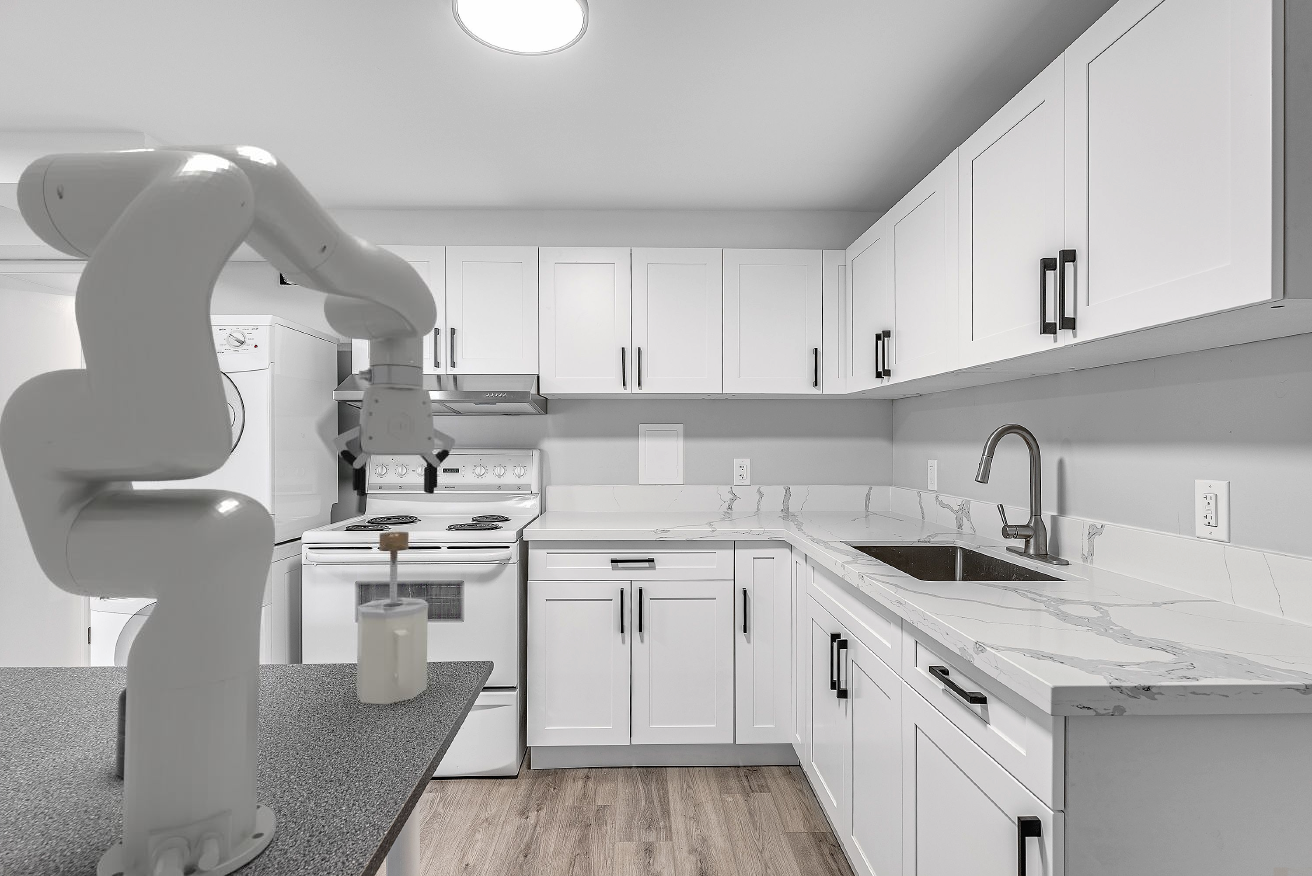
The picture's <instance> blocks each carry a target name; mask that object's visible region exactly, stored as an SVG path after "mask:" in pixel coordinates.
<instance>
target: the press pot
mask: <svg viewBox="0 0 1312 876" xmlns="http://www.w3.org/2000/svg"><path fill="white" fill-rule="evenodd" d="M428 610H429V602H427V601H426V600H424V599H423V598H411V597H397V607H390V598H387V599H386V598H385V599H379V600H371V601H369V602H366V603H363V604H361V605H358V606H357V608H356V613H357V645H356V646H357V647H356V650H357V651H356V652H357V655H356V658H357V659H356V661H357V663H356V696H357V698H358V699H359V701H360V704H361V703H363V704H372V705H373V704H375V705H391V704H395V703H399V701H400V702H403V701H404V700H405V701H408V699H410V700H413V699H415V698H417V697H418V696H419V694H420V693H421V694H423V693H424V692H425V691H424V690H426V689H428V617H429V616H428V613H429V612H428ZM423 691H424V692H423ZM426 691H427V690H426ZM422 692H423V693H422ZM421 694H420V695H421ZM417 695H418V696H417ZM414 697H415V698H414ZM412 698H413V699H412ZM405 701H404V702H405ZM394 702H395V703H394Z"/></svg>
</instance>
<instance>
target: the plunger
mask: <svg viewBox="0 0 1312 876" xmlns="http://www.w3.org/2000/svg"><path fill="white" fill-rule="evenodd" d="M409 537H410V536H409V532H408V531H387V532H386V531H385V532H381V533H379V542H378V543H379V549H378V550H379V551H380V552H390V553H389V557H390V559H389V564H390V565H389V599H390V607H397V598H398V552H400V551H406V550H409Z"/></svg>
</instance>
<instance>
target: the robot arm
mask: <svg viewBox="0 0 1312 876" xmlns="http://www.w3.org/2000/svg"><path fill="white" fill-rule="evenodd" d="M310 192H311V191H309V190H308V189H307V188H306V186H305V185H304V184H303V183H302V182H301V180H299V179H298V178H297V177H296V175H295V174H294V173H293V172H292V171H291V169H290V168H289V167H288V166H287V165H286V164H285V163H284V162H283V161H282V160H281V159H280V158H279V157H277V156H276V155H274V154H273V153H272V152H270V151H269V150H268V151H267V150H266V149H263V148H262V147H261V148H260V147H257V146H253V145H249V144H248V145H247V144H237V143H236V144H232V143H231V144H230V143H229V144H227V143H226V144H197V145H195V144H194V145H193V144H191V145H188V144H187V145H166V146H165V145H164V146H152V147H143V148H134V149H133V148H132V149H122V150H121V149H119V150H110V151H109V150H107V151H104V150H103V151H85V152H63V153H51V154H46V155H45V156H42V157H39V158H37V159H35V160H34V161H33V162H31V163H30V164H28V165H27V167H26V168H25V169H24V170H23V172H22V173H21V174H20V177H19V179H18V182H17V187H16V199H17V206H18V208H19V211H20V215H21V217H22V218H23V220H24V221H25V223H26V226H28V228H29V229H31V231H32V232H33V233H34V234H35V236H37V237H38V238H39V239H40V240H41V241H42V242H44V243H45V244H47V245H48V246H50V247H52V248H53V249H54V250H56V251H58V252H60V253H63V254H65V255H67V256H70V257H74V258H79V259H83V260H88V261H87V263H86V265H85V266H84V268H83V269H82V272H81V275H80V277H79V279H78V280H79V281H78V283H77V286H76V290H75V298H74V313H75V321H76V325H77V329H78V330H77V331H78V334H79V338H80V340H79V341H80V343H81V344H80V345H81V349H82V355H83V359H84V363H85V368H68V369H67V368H66V369H57V370H52V371H47V372H44V373H41V374H37V375H35V376H33V377H31V378H30V379H27V380H26V381H25V382H23V383H22V384H20V385H19V386H18V387H17V388H16V389H15V390H14V391H13V392H12V394H11V395H10V396H9V398H8V399H7V401H6V403H5V405H4V406H3V407H4V408H3V409H2V413H1V417H0V453H1V454H0V455H1V457H2V460H3V465H4V467H5V471H6V474H7V477H8V480H9V484H10V485H11V486H10V487H11V489H12V492H13V493H12V494H13V495H14V498H15V501H16V504H17V507H18V510H19V511H18V512H19V513H20V516H21V519H22V522H23V525H24V529H25V531H26V534H27V538H28V540H29V542H30V546H31V548H32V551H33V554H34V556H35V558H36V562H37V563H38V565H39V567H40V569H41V570H42V572H43V574H44V575H45V577H46V578H47V579H48V580H49V581H50V582H51V583H52V584H53V585H54V586H55V587H57V588H59V589H60V590H61V591H64V592H66V593H69V594H71V595H75V596H81V597H89V598H109V599H110V598H111V599H112V598H115V599H117V598H121V599H123V598H127V599H128V598H129V599H133V598H134V599H135V598H136V599H137V598H139V599H143V598H144V599H152V600H156V602H155V605H154V607H153V609H152V611H151V612H150V614H149V616H148V617H147V619H145V622H144V623H143V624H142V626H141V627H140V629H139V631H138V632H137V633H136V635H135V637H134V639H133V641H132V643H131V646H130V649H129V651H128V656H127V660H126V673H125V684H126V687H127V688H126V687H125V688H126V724H125V760H124V778H123V798H122V799H123V801H122V804H123V805H122V807H123V808H122V810H123V811H122V836H121V838H120V839H119V840H117V841H116V842H115V843H114V844H113V845H112V846H111V847H110V848H109V849H107V850H106V852H104V853H103V855H102V857H101V858H100V859H99V861H98V862H97V863H98V864H97V866H96V876H227V875H228V874H230V873H232V872H234V871H236V870H238V869H240V868H242V866H244V865H246V864H248V863H249V862H251V861H252V860H254V858H255V857H257V856H258V855H259V854H261V853H262V852H263V850H265V849H266V847H267V846H268V845H269V844H270V843H271V841H272V839H273V838H274V837H275V833H276V831H277V816H276V814H275V811H274V810H272V808H270V807H269V806H268V805H265V804H262V803H260V802H258V764H259V763H258V761H259V760H258V756H259V755H258V754H259V706H260V705H259V704H260V703H259V701H260V663H261V662H260V655H261V653H260V649H261V627H262V626H261V625H262V612H263V603H264V598H265V597H264V596H265V591H266V585H267V582H268V581H267V580H268V576H269V572H270V567H271V564H272V560H273V555H274V550H275V542H276V529H275V527H276V526H275V524H274V520H273V517H272V515H271V514H270V512H269V510H268V509H267V508H266V507H265V506H264V505H263V503H261V502H260V501H258V500H257V499H255V498H254V497H252V496H249V495H247V494H244V493H240V492H236V491H231V490H228V489H227V490H226V489H218V488H217V489H216V488H161V489H155V488H153V489H152V488H150V489H145V488H144V489H141V488H139V489H134V486H133V482H138V483H140V482H168V481H173V482H174V481H186V480H192V479H193V480H194V479H197V478H202V477H206V476H208V475H211V474H212V473H215V472H216V471H217V470H218V471H219V470H220V469H221V468H222V467H223V466H224V464H225V463H226V462H227V461H228V460H229V458H230V456H231V454H232V449H233V438H234V437H233V425H232V421H231V415H230V410H229V405H228V404H229V403H228V400H227V395H226V390H225V386H224V385H225V384H224V381H223V377H222V372H221V367H220V362H219V357H218V353H217V349H216V344H215V339H214V332H213V325H212V319H211V318H212V317H211V304H212V303H211V302H212V297H213V294H214V288H215V286H216V283H217V281H218V279H219V277H220V275H221V273H222V271H223V269H224V268H225V266H227V265H226V264H227V263H228V262H229V261H230V259H231V257H232V256H233V255H234V254H235V253H236V251H238V249H239V248H240V247H241V245H242V244H243V243H245V244H246V245H247V246H249V247H250V248H251V249H252V250H253V251H254V252H256V253H257V254H258V255H259V256H260V257H262V258H263V259H264V260H266V262H268V263H269V265H271V266H272V267H273V268H274V269H275V270H276V271H278V272H279V273H280V274H281V275H282V276H283V277H284V278H286V279H287V280H288V281H290V282H291V283H292V284H294V285H297V286H300V287H303V288H305V289H309V290H312V291H316V292H320V293H323V294H327V295H326V297H325V299H324V303H323V312H324V313H323V314H324V317H325V319H326V322H327V324H328V325H329V326H330V328H331V329H332V330H333V331H335V332H336V333H337V334H338V335H340V336H343V337H344V338H347V339H353V340H362V341H363V340H365V341H369V366H368V369H364V370H358V380H362V381H365V382H367V383H368V384H367V385H368V386H367V387H365V388H364V391H363V395H362V399H361V405H360V413H359V423H358V424H359V425H358V426H356V427H355V428H352V429H350V430H348V431H345V432H343V433H341V434H339V435H337V436H335V437H333V438H332V439H331V443H332V445H333V446H334V448H335V450H336V451H337V453H338V455H339V457H340V458H342V460H343V461H345V463H347V465H349V466H350V468H352V490H353V491H356V496H358V497H365V496H366V494H367V469H365V468H364V466H365V465H364V464H365V463H367V461H368V460H369V459H370V458H371V457H372V456H419V457H420V458H421V459H422V460H423V461H424V462H425V464H426V466H425V467H424V468H423V469H424V470H423V492H424V493H426V494H432V495H433V494H434V493H435V489H437V488H438V467H440V465H441V464H442V463H444V461H445V460H446V459H447V458H448V457H449V455H450V452H451V451H452V450H453V447H454V446H455V443H456V439H455V438H453V437H452V436H449V435H448V434H446V433H444V432H442V431H440V430H438V429H436V428H435V424H434V415H433V405H432V399H431V394H430V390H428V389H424V337H426V336H427V335H429V334H430V333H431V332H433V330H434V328H435V325H436V323H437V318H438V311H437V304H436V300H435V297H433V294H432V292H431V290H430V288H429V287H428V284H427V283H426V282H425V281H424V279H423V278H422V276H421V275H420V274H419V272H418V271H417V270H416V269H415V268H414V267H413V266H412V264H410V263H409V262H408V261H407V260H405V259H404V258H402V257H400V256H399V255H398V254H395V253H394V252H391V251H390V250H388V249H386V248H383V247H381V246H379V245H377V244H375V243H373V242H371V241H369V240H366V239H364V238H362V237H360V236H357V235H355V234H353V233H350V232H348V231H345V230H343V229H342V228H341V227H340V225H339V224H338V223H337V222H336V220H334V219H333V217H331V215H330V214H329V213H328V212H327V210H326V209H324V207H323V206H322V204H320V203H319V202H318V201H317V200H316V198H315V197H314V196H313V195H312V193H310ZM357 437H358V441H357V442H358V449H359V452H358V453H357V454H356V455H354V454H353V453H351V451H349V449H348V447H347V445H346V444H347V442H349V441H351V440H353V439H355V438H357ZM435 440H437V441H439V442H440V443H442V445H441V448H440V450H439V451H438V452H437V453H436V454H434V453H433V452H434V450H435Z"/></svg>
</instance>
